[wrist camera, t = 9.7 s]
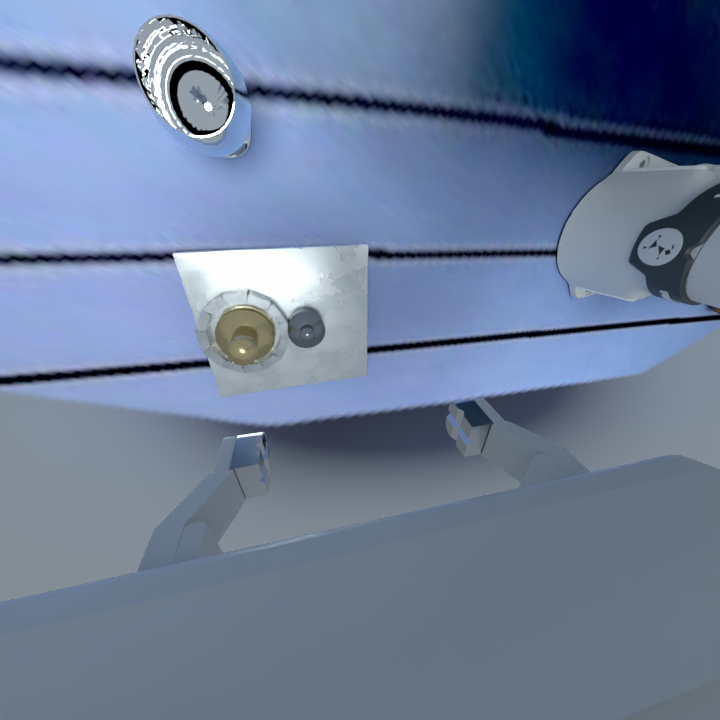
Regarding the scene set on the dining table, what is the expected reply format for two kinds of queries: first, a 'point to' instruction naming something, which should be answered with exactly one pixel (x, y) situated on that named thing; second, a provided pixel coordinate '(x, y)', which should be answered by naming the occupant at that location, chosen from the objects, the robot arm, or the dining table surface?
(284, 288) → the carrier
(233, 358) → the brass flanged cylinder
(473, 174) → the dining table surface
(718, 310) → the cup and saucer
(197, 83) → the wineglass
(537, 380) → the dining table surface
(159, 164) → the dining table surface
